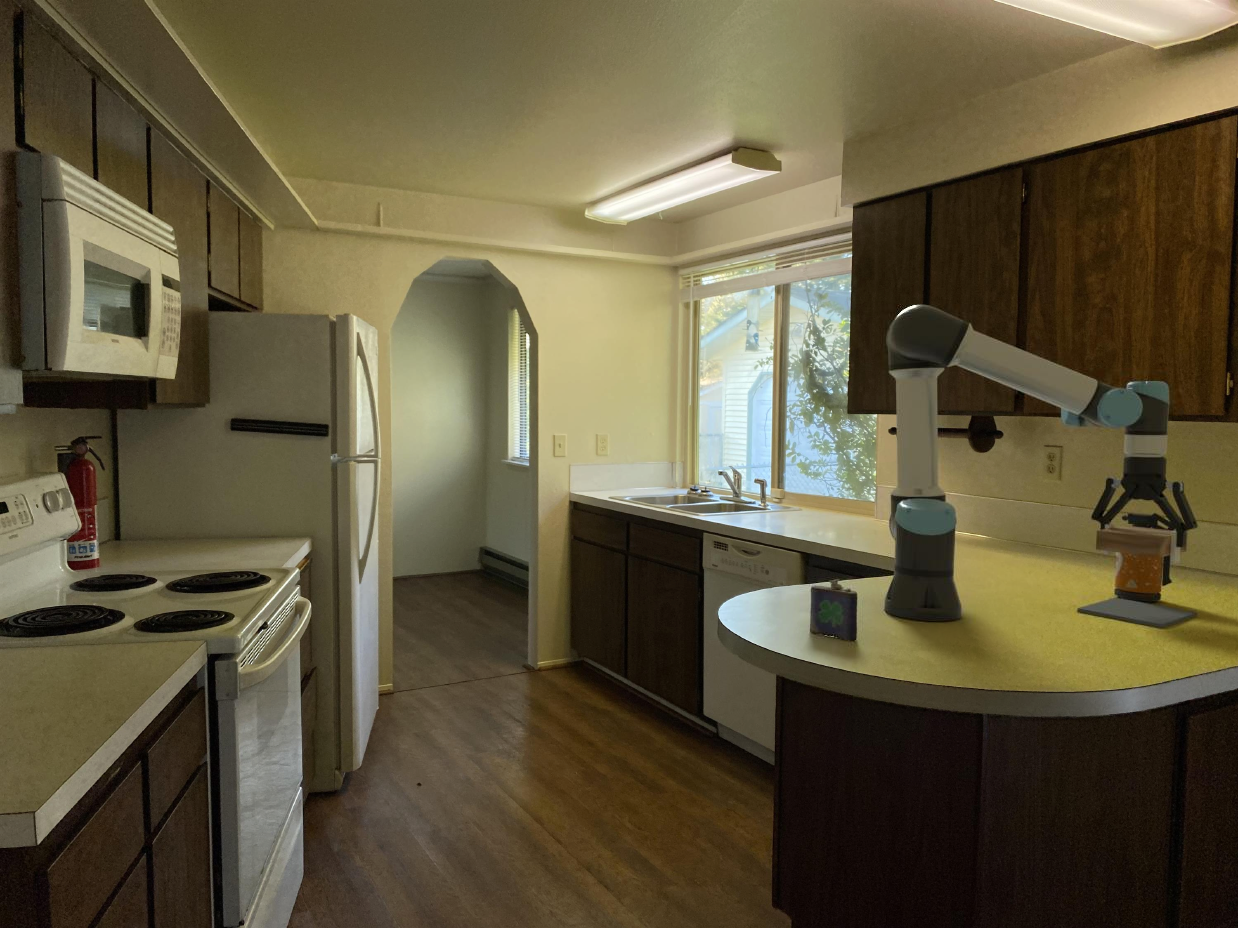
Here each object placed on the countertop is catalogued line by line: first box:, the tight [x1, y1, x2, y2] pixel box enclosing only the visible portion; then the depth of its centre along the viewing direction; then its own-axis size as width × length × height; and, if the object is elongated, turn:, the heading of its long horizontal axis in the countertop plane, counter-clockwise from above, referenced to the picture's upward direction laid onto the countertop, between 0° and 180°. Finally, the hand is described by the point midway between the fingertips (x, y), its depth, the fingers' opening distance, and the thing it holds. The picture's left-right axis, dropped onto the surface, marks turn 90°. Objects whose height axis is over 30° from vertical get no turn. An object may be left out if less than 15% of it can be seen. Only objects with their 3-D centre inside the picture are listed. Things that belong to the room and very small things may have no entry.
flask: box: [809, 578, 858, 642], centre depth 150 cm, size 9×3×11 cm, turn 48°
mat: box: [1076, 597, 1198, 629], centre depth 170 cm, size 18×16×1 cm
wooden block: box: [1095, 525, 1188, 558], centre depth 169 cm, size 14×12×4 cm
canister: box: [1113, 512, 1176, 604], centre depth 183 cm, size 9×11×20 cm
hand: (1140, 558), depth 169 cm, fingers closed on wooden block, 12 cm apart
